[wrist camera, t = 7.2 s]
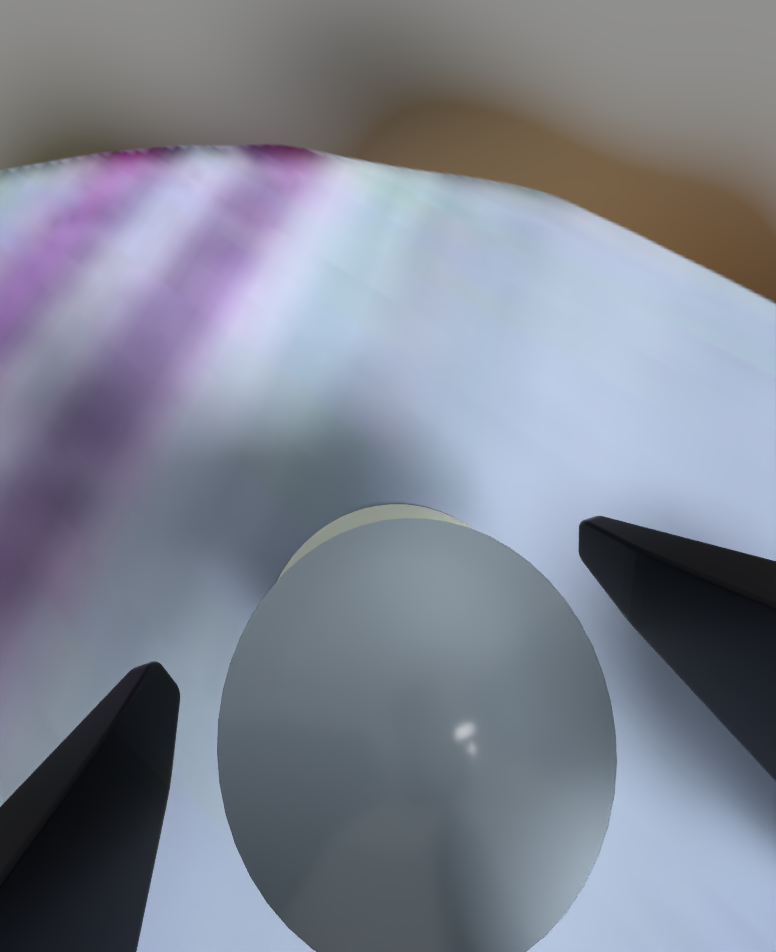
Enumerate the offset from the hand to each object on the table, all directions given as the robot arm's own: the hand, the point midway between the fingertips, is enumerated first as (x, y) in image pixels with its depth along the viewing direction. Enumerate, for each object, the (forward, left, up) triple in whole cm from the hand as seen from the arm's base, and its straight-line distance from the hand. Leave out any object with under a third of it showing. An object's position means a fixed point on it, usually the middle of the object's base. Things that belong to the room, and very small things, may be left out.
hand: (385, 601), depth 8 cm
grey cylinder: (-1, 0, -8) cm, 8 cm away
